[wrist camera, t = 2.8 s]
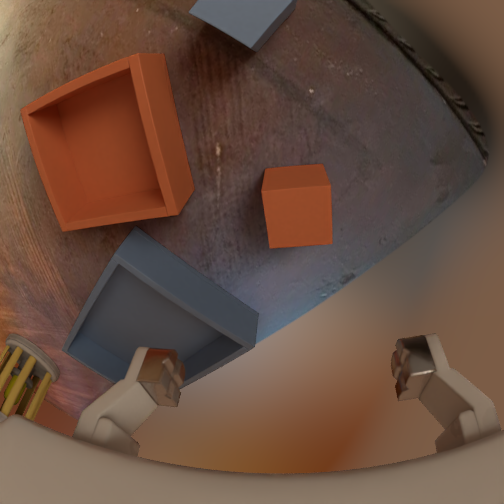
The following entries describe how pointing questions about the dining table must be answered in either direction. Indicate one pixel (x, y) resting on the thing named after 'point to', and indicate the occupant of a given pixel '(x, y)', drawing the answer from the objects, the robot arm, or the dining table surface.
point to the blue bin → (158, 314)
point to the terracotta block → (297, 206)
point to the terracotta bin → (111, 145)
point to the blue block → (245, 18)
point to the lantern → (25, 376)
